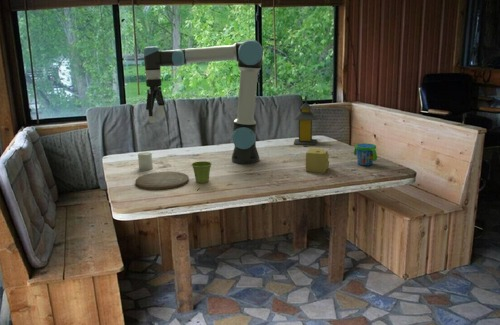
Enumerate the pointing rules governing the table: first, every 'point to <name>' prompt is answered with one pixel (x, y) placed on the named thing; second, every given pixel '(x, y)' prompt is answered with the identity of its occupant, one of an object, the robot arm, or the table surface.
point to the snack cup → (365, 153)
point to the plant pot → (201, 171)
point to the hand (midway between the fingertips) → (156, 120)
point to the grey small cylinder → (145, 161)
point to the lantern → (305, 125)
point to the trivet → (162, 180)
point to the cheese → (317, 160)
